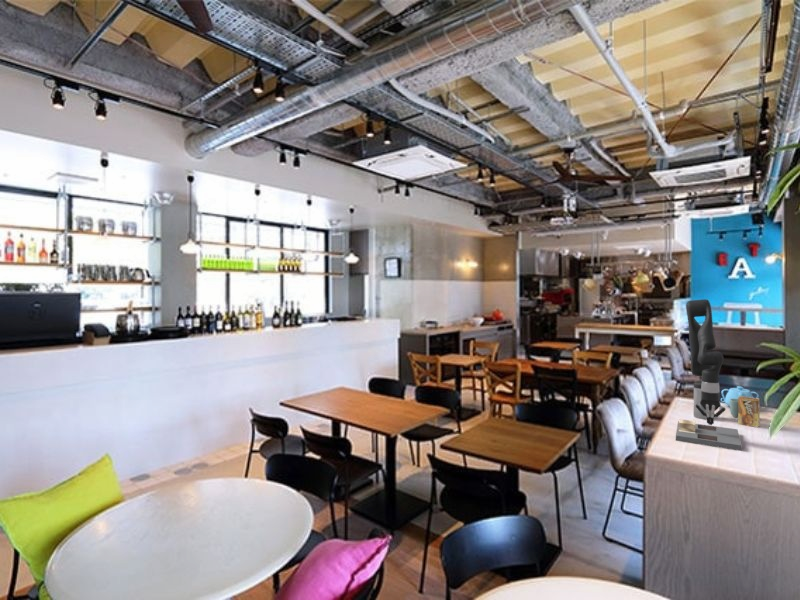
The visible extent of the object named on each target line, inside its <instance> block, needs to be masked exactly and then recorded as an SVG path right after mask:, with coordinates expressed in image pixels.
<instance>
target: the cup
mask: <svg viewBox="0 0 800 600" xmlns="http://www.w3.org/2000/svg"><path fill="white" fill-rule="evenodd" d="M729 411H730V415H731V417H733V418H736V419H738V399H730V407H729Z"/></svg>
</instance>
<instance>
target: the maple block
mask: <svg viewBox="0 0 800 600" xmlns="http://www.w3.org/2000/svg"><path fill="white" fill-rule="evenodd" d="M678 421H679V430H681V431H688V432H695V424H696V420H689V419H682V418H680V419H679V420H678Z"/></svg>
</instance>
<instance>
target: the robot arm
mask: <svg viewBox="0 0 800 600" xmlns="http://www.w3.org/2000/svg"><path fill="white" fill-rule="evenodd" d="M685 309H686V316H687V323H688V337H689V338H688V339H689V350H690V372H691V374H692V375H693V376H696V377H701V380H699V381H695V382H694V383H693V417H695V418H697V419H702V420H706V423H707V425H709V426H713V425H714V422H715V418H718V417H720V416H721V414H723V413H724V412H725V411H726V407H725V406H722V405H721V401H720V391H721V390H720V371H721V368H722V365H723V363H724V355H723V354H722V353H721V351H717V350H716V351H715V350H714V349H715V348H716V347H717V345H716V344H717V343H716V339H715V336H714V327H713V325H714V324H713V322H714V321H713V313H712V306H711V302H710V300H708V299H705V298H704V299H703V298H702V299H692V300H688V301H687V302H686V303H685ZM700 317H704V321H703V323H702V324H699V323H698V321H697V320H696V318H700ZM713 350H714V351H713ZM718 409H719V410H718ZM717 410H718V411H717ZM715 411H717V412H716V413H715Z"/></svg>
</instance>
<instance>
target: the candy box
mask: <svg viewBox="0 0 800 600" xmlns="http://www.w3.org/2000/svg"><path fill="white" fill-rule="evenodd" d="M760 405H761V403H760V397H759V398H757V397H754V398H752V397H744V396H739V397H738V418H737V419H738V420H737V421H738V422H737V424H738V425H741V426H747V425H748V427H752V426H756V427H755V428H759V427H760V422H761V421H760V410H761V409H760ZM758 426H759V427H758Z"/></svg>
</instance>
